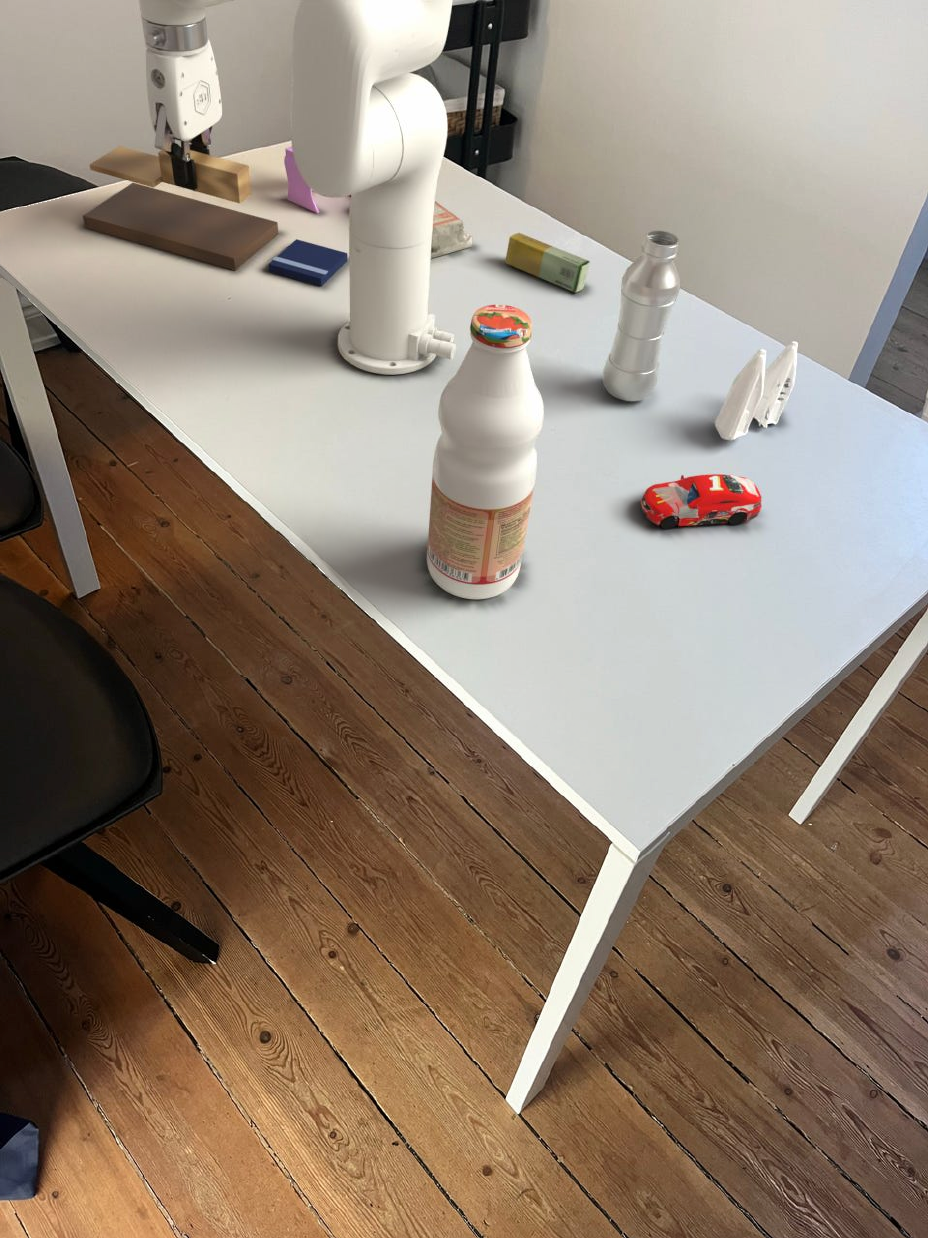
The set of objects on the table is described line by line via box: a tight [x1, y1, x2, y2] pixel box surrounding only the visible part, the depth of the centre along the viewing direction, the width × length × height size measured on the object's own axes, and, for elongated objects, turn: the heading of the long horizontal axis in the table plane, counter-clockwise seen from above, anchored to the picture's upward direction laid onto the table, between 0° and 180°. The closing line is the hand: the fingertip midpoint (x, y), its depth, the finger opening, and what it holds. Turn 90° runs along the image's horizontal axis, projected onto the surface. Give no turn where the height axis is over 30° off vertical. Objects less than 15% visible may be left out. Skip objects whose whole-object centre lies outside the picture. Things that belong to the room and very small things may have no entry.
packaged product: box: [431, 200, 473, 259], centre depth 143 cm, size 18×5×10 cm
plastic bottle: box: [602, 229, 681, 402], centre depth 114 cm, size 6×7×20 cm
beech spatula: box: [89, 145, 252, 204], centre depth 133 cm, size 22×7×4 cm, turn 69°
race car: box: [640, 473, 762, 530], centre depth 106 cm, size 13×5×4 cm, turn 98°
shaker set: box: [714, 341, 799, 441], centre depth 114 cm, size 12×4×11 cm, turn 130°
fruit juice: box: [426, 304, 545, 600], centre depth 88 cm, size 9×9×28 cm
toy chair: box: [283, 145, 352, 214], centre depth 144 cm, size 8×9×15 cm
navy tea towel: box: [267, 239, 348, 287], centre depth 135 cm, size 8×8×1 cm
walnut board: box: [82, 182, 279, 272], centre depth 139 cm, size 24×12×2 cm, turn 69°
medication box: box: [504, 232, 591, 294], centre depth 137 cm, size 12×3×4 cm, turn 57°
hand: (193, 180), depth 133 cm, fingers closed on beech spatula, 3 cm apart
